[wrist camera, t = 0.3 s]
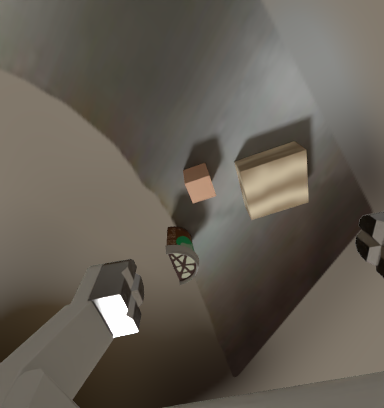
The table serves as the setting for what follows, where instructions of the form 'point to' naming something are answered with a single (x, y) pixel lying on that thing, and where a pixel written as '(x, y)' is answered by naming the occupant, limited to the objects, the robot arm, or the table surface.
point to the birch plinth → (274, 179)
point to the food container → (182, 253)
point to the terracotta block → (198, 183)
